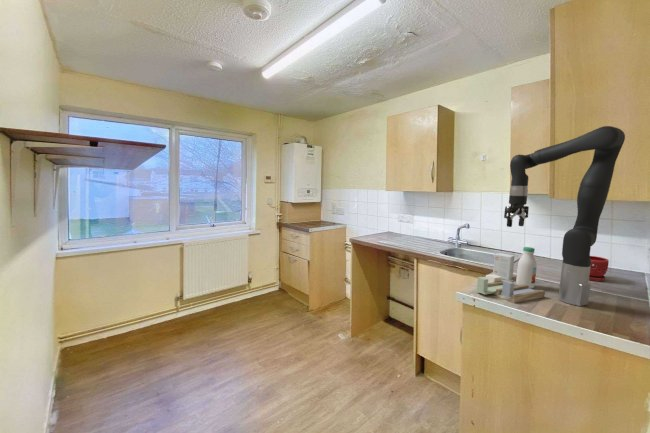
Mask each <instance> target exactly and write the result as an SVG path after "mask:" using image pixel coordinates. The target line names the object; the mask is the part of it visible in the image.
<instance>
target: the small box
mask: <svg viewBox="0 0 650 433" xmlns="http://www.w3.org/2000/svg"><path fill="white" fill-rule="evenodd" d="M493 257H494V258H493V268H492V274H494V275H497V276H500V277H502V280H503V281H506V280H513V278H514V267H515V257H516V256H515V255H514V254H508V253H502V252H496V253H495V254H494V256H493Z"/></svg>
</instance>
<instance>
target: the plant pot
mask: <svg viewBox="0 0 650 433" xmlns="http://www.w3.org/2000/svg"><path fill="white" fill-rule="evenodd" d="M590 259H591V267H590V274H589V281H593V282H595V281H596V282H603V281H605V279H607V278H606V276H605V275H606V273H607V271H608V269H609V262H610V261H609V259H608V258H605V257H601V256H596V255H590Z"/></svg>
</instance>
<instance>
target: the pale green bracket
mask: <svg viewBox="0 0 650 433" xmlns="http://www.w3.org/2000/svg"><path fill="white" fill-rule="evenodd" d="M502 287H503V285H498V286H492V287H488V279H486V277H484V276H478V277H477V282H476V288H475V292H478V293H480V294H482V295H490V294H491V293H496V289H501V288H502ZM491 295H492V294H491Z"/></svg>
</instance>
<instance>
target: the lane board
mask: <svg viewBox="0 0 650 433" xmlns="http://www.w3.org/2000/svg"><path fill="white" fill-rule="evenodd" d="M503 281H504V280H502V281H499V282H492V283H488V287H492V286H498V285H503ZM507 281H510V282H513V283H514V291H515V290H521V289H527V288H529V285H520V286H518V285H517V284H515V280H513V279H510V280H507ZM500 293H502V288H501V289H496V293H491V295H494V296H496V297H498V298H501V299H503V300H505V301H508V302H510V303H512V304H516V303H521V302H527V301H531V300H537V299H542V298H543V299H544V298H545V294H546V290H542V289H540V290H535V291H533V292H527V293H522V294H516V295H511V299H510V298H507V297H505V296H502V295H500Z"/></svg>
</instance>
